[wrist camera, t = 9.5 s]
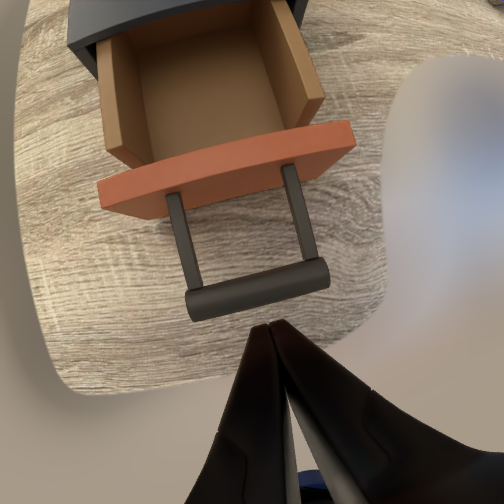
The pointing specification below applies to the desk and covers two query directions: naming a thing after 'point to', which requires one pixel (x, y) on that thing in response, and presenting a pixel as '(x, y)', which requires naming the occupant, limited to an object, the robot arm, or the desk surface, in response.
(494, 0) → the roof
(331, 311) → the desk surface
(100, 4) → the cabinet
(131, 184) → the drawer
